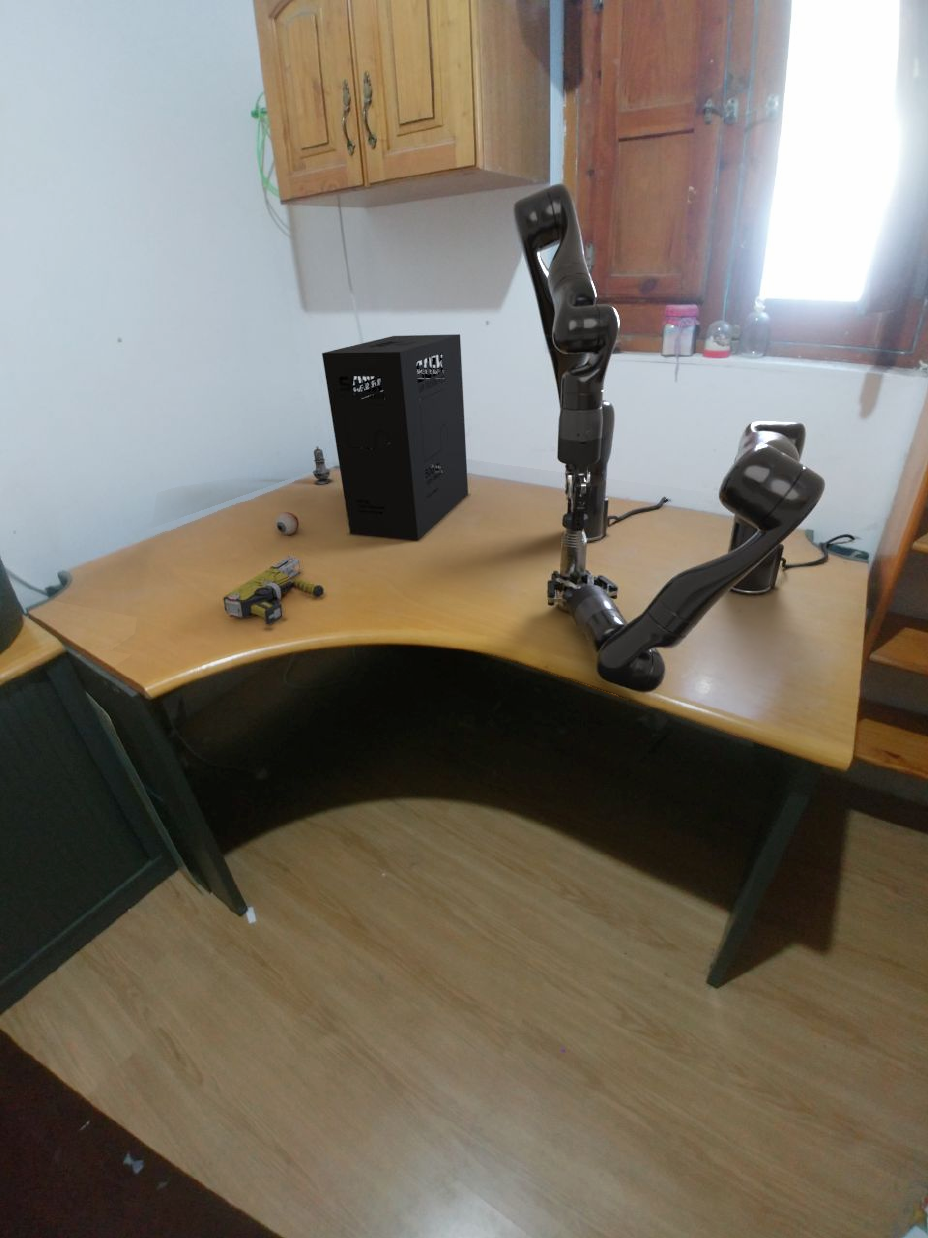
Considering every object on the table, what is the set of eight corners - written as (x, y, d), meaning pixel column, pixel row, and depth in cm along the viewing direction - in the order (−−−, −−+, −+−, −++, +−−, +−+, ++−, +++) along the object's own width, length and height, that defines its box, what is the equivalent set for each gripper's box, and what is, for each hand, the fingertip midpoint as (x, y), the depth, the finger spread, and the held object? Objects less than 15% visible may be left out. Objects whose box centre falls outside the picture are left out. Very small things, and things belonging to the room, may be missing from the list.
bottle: (571, 614, 120) (575, 525, 110) (553, 605, 123) (556, 518, 114) (588, 606, 122) (593, 518, 113) (570, 597, 126) (574, 512, 116)
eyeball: (273, 537, 164) (268, 516, 161) (287, 528, 169) (282, 508, 166) (291, 539, 161) (286, 518, 158) (305, 530, 166) (301, 510, 163)
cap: (592, 526, 113) (593, 517, 112) (572, 531, 111) (572, 522, 110) (577, 519, 117) (577, 510, 116) (557, 524, 115) (557, 515, 114)
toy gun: (343, 565, 138) (286, 554, 142) (281, 611, 118) (217, 596, 122) (343, 584, 140) (288, 572, 144) (284, 632, 120) (221, 617, 124)
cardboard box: (408, 489, 193) (393, 335, 171) (468, 494, 187) (460, 334, 164) (350, 533, 163) (321, 353, 141) (418, 540, 156) (400, 352, 134)
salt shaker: (327, 484, 203) (321, 448, 197) (311, 484, 204) (305, 448, 198) (334, 479, 208) (328, 443, 202) (318, 478, 209) (312, 443, 203)
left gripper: (553, 425, 112) (550, 513, 120) (563, 444, 99) (559, 540, 108) (594, 423, 111) (588, 511, 120) (609, 442, 99) (602, 539, 108)
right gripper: (636, 591, 106) (603, 552, 121) (557, 599, 105) (533, 560, 119) (632, 627, 110) (601, 586, 125) (555, 636, 108) (533, 593, 123)
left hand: (574, 524), depth 114 cm, fingers closed on cap, 4 cm apart
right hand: (568, 573), depth 122 cm, fingers closed on bottle, 5 cm apart
